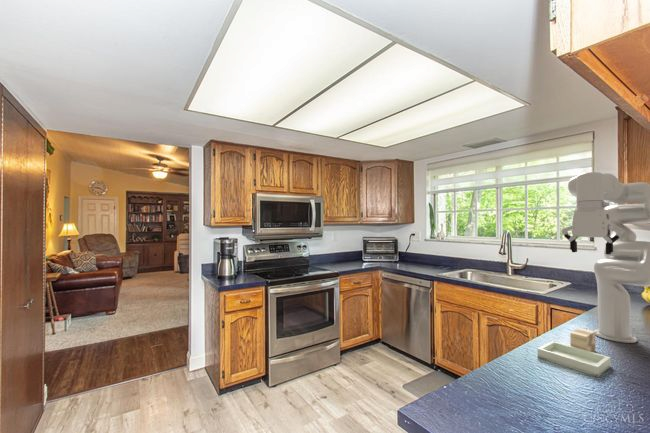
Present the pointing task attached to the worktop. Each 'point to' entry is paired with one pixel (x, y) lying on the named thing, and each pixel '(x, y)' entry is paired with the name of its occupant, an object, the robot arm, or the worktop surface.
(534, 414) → the worktop surface
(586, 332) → the block
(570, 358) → the tray
